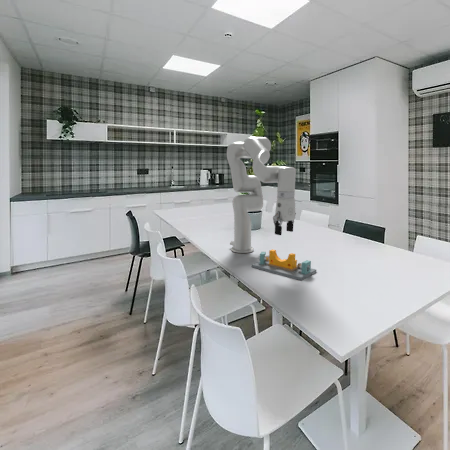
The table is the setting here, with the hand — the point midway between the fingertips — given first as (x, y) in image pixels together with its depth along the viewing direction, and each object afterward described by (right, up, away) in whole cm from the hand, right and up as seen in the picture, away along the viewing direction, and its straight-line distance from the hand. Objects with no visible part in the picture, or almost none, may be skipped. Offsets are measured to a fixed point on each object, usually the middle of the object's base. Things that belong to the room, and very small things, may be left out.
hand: (283, 232), depth 139 cm
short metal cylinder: (-8, -14, +8) cm, 18 cm away
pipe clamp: (0, -15, +3) cm, 15 cm away
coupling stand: (0, -17, +3) cm, 17 cm away
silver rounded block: (+8, -16, -4) cm, 19 cm away
